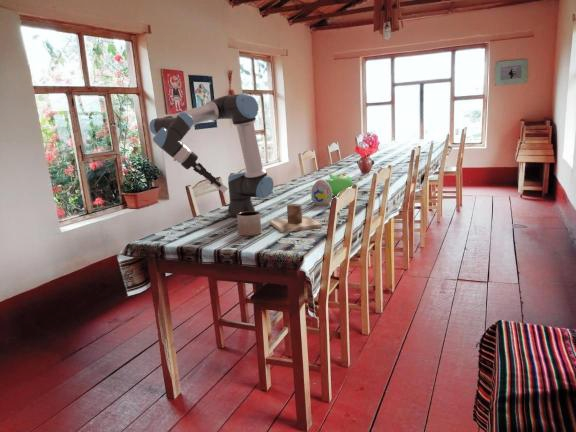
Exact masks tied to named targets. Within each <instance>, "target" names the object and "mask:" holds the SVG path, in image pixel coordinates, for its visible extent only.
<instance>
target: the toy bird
mask: <svg viewBox="0 0 576 432" xmlns="http://www.w3.org/2000/svg"><path fill="white" fill-rule="evenodd" d="M328 176H329V177H330V179H329V178H327V179H324V180H325V181H326V182H327V183H328V184H329V185H330V187H331V190H332V196H336V197H338V196H337V194H338V193H339V192H340V191H342V190H343V189H346V188H348V187H351V186H352V185H354V186H355V184H354V181H353V179H352V177H350V176H349V175H348V174H347V175H346V172H345V173H340V174H336V175H335V174H333V173H328Z"/></svg>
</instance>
